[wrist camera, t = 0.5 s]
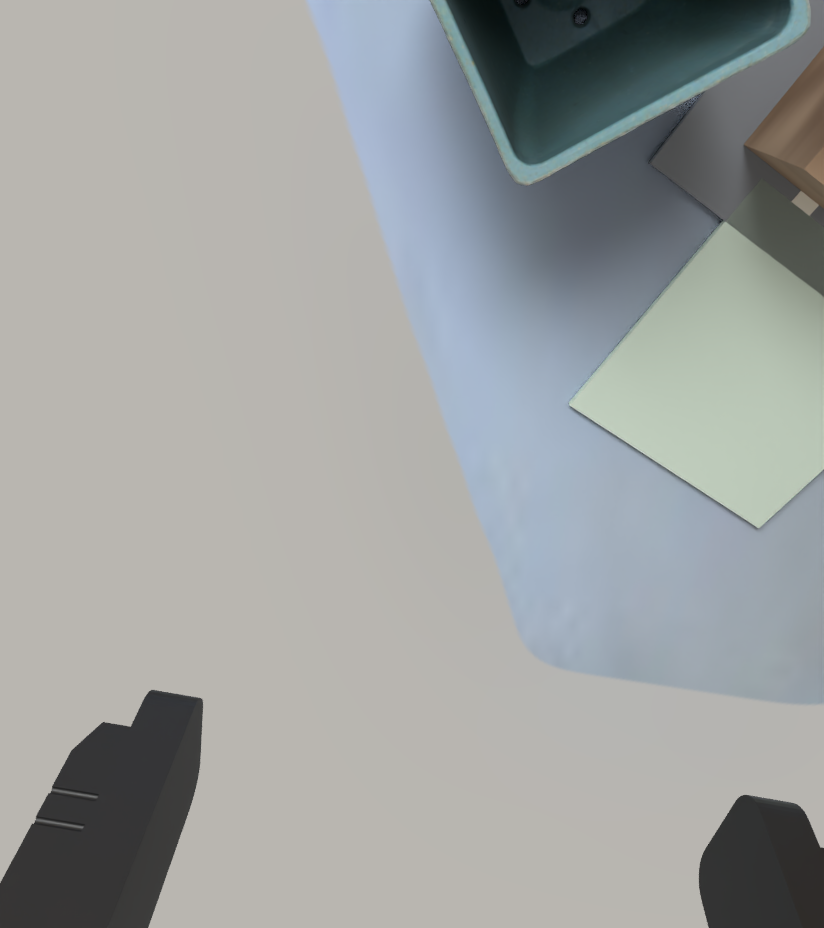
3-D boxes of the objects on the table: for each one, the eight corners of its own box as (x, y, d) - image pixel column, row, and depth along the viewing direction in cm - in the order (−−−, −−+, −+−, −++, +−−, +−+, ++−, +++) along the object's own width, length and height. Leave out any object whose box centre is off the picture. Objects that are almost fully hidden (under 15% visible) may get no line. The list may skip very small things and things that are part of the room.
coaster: (759, 177, 30) (762, 178, 30) (961, 337, 33) (965, 339, 33) (568, 402, 36) (569, 405, 36) (756, 525, 39) (758, 528, 38)
